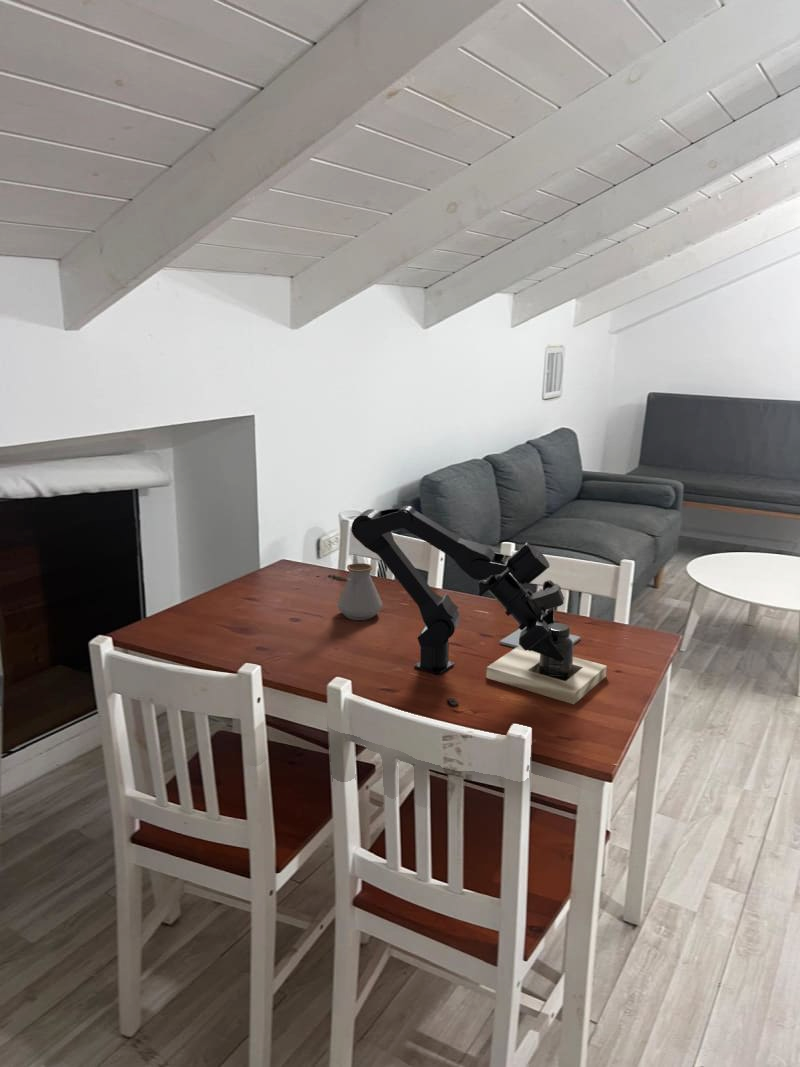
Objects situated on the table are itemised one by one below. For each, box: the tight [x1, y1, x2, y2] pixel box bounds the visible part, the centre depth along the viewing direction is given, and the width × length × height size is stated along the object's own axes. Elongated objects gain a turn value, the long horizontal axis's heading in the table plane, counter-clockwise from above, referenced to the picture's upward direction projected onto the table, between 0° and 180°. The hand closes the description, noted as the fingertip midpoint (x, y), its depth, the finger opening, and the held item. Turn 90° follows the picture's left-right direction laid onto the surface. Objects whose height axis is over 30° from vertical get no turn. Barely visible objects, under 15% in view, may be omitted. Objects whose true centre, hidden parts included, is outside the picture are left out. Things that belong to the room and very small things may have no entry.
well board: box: [486, 645, 608, 705], centre depth 171 cm, size 16×20×2 cm
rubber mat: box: [499, 627, 581, 649], centre depth 190 cm, size 14×14×1 cm
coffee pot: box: [323, 562, 383, 621], centre depth 200 cm, size 21×12×15 cm, turn 154°
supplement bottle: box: [538, 622, 575, 681], centre depth 169 cm, size 7×7×12 cm
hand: (563, 651), depth 168 cm, fingers open, 9 cm apart
